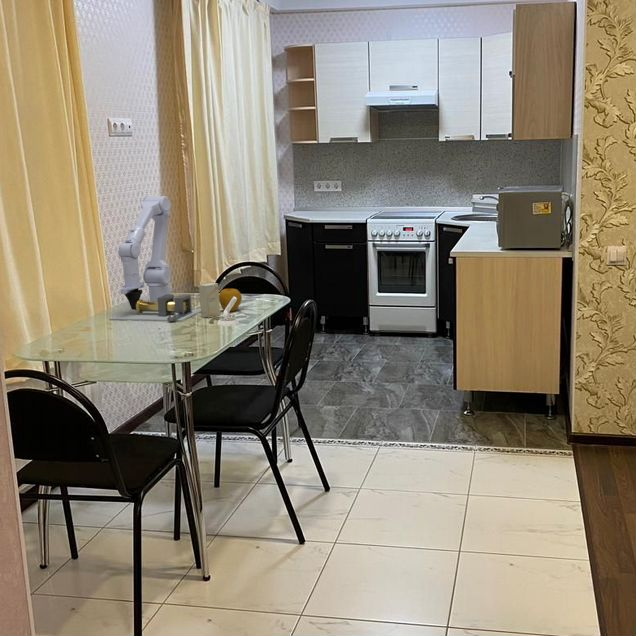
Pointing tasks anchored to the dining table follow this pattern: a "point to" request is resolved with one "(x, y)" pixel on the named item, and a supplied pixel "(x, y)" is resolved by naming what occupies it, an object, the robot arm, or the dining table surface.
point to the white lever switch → (228, 315)
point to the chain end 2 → (181, 307)
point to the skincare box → (209, 300)
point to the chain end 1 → (164, 304)
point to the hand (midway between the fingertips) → (134, 309)
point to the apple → (229, 298)
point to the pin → (156, 306)
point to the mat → (148, 316)
